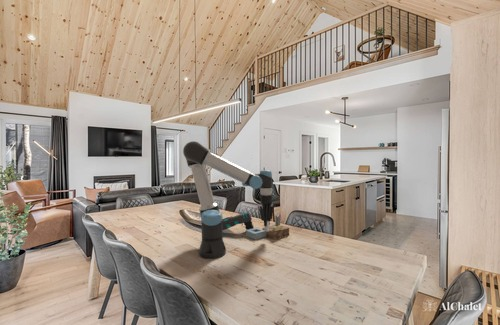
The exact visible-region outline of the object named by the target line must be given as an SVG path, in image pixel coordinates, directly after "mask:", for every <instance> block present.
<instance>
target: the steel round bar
mask: <svg viewBox="0 0 500 325" xmlns="http://www.w3.org/2000/svg"><path fill="white" fill-rule="evenodd" d="M274 221H275V223H274V225H275V226H278V225H281V215H279V214H278V215H275V216H274Z"/></svg>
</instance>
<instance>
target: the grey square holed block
mask: <svg viewBox="0 0 500 325" xmlns="http://www.w3.org/2000/svg"><path fill="white" fill-rule="evenodd" d="M245 237H247V238H249V239H252V240H255V241H256V240H259V239H262V238H265V237H266V231H265V230H263V229H262V228H259V227H254V228H253V229H249V230H247V229H245ZM266 238H267V237H266Z"/></svg>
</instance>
